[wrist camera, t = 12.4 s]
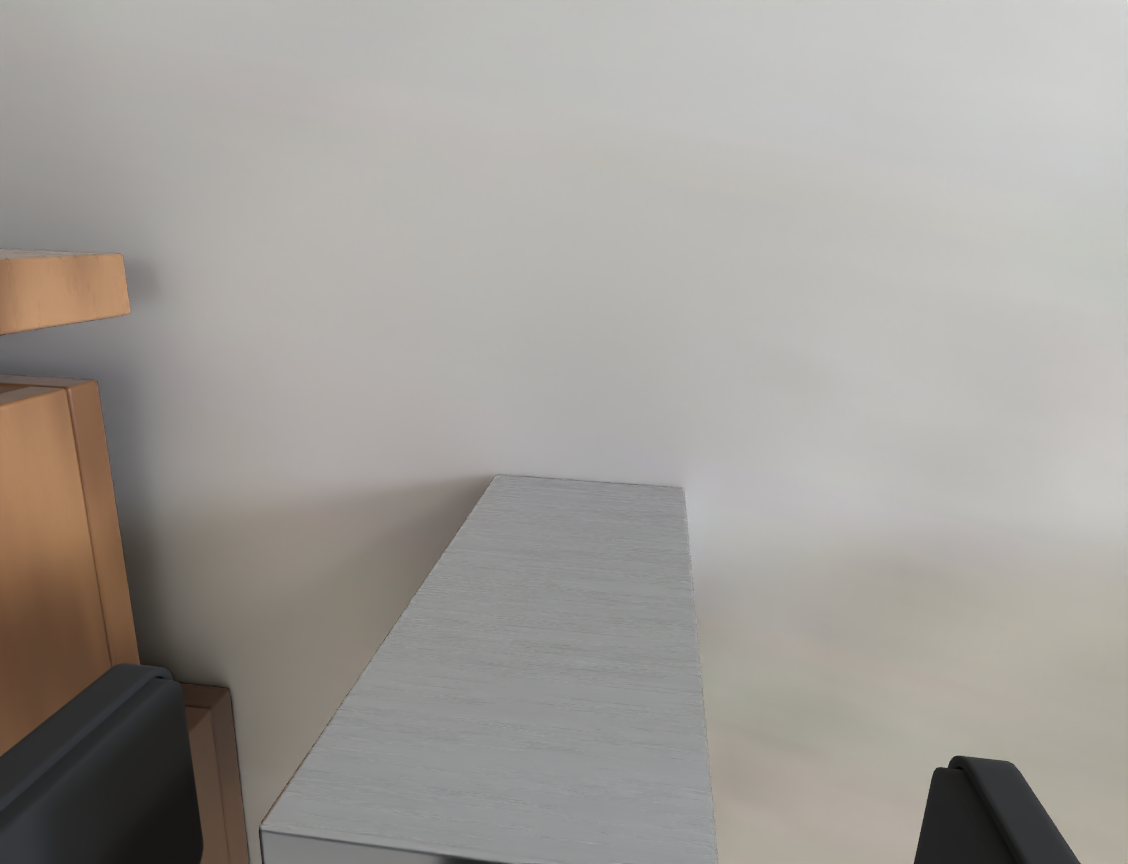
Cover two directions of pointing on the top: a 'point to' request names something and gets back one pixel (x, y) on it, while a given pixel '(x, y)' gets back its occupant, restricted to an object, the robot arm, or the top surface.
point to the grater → (524, 699)
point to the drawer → (57, 501)
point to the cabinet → (216, 773)
